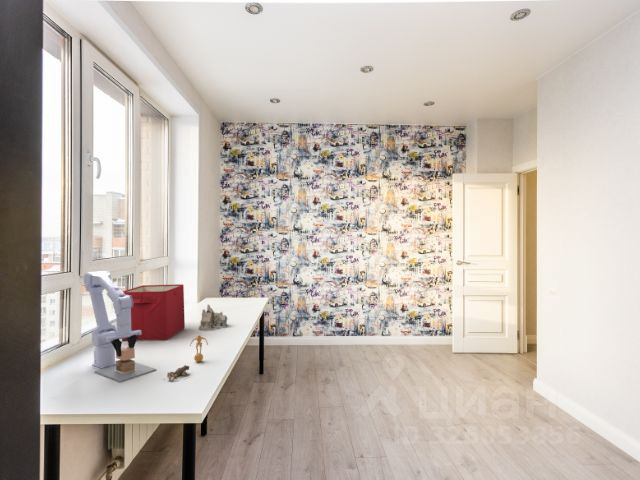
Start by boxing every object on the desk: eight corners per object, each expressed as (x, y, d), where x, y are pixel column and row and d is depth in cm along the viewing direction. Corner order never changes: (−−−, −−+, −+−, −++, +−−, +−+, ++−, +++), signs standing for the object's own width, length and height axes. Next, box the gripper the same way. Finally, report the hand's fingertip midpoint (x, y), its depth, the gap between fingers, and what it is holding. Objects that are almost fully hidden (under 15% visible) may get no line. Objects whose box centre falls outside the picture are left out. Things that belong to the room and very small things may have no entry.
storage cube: (166, 341, 214) (164, 290, 213) (118, 342, 214) (117, 291, 214) (187, 327, 246) (186, 283, 246) (145, 328, 246) (144, 284, 246)
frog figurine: (182, 370, 167) (182, 361, 166) (197, 376, 159) (197, 367, 159) (157, 378, 158) (157, 369, 158) (172, 385, 150) (171, 375, 150)
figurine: (188, 363, 174) (187, 337, 174) (191, 359, 180) (190, 334, 180) (207, 362, 175) (206, 336, 175) (209, 358, 181) (208, 333, 181)
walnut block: (116, 370, 166) (115, 360, 166) (126, 366, 170) (126, 358, 170) (124, 372, 162) (124, 363, 162) (134, 369, 166) (134, 360, 166)
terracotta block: (116, 358, 166) (115, 349, 166) (126, 355, 170) (126, 346, 169) (124, 360, 162) (124, 351, 162) (134, 357, 166) (134, 348, 165)
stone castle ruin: (195, 330, 238) (196, 306, 238) (209, 325, 253) (210, 302, 254) (217, 332, 234) (218, 308, 234) (230, 327, 249) (231, 304, 250)
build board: (94, 372, 166) (94, 370, 166) (130, 361, 179) (130, 360, 179) (119, 382, 153) (119, 380, 153) (156, 370, 166) (156, 368, 166)
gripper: (111, 328, 157) (112, 360, 158) (144, 321, 169) (145, 351, 169) (103, 326, 161) (104, 358, 162) (136, 319, 173) (137, 349, 173)
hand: (124, 354), depth 166 cm, fingers closed on terracotta block, 5 cm apart
